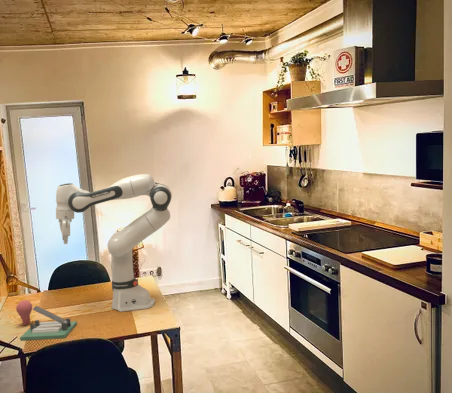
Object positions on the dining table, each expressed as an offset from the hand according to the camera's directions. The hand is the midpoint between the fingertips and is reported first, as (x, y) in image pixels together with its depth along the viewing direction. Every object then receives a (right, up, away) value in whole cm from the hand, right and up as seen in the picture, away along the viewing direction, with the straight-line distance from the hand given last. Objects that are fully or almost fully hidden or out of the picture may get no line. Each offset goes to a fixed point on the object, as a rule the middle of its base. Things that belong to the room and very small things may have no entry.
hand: (64, 241), depth 235 cm
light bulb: (-15, -39, -12) cm, 44 cm away
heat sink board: (+1, -40, -23) cm, 46 cm away
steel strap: (+2, -32, -24) cm, 40 cm away
